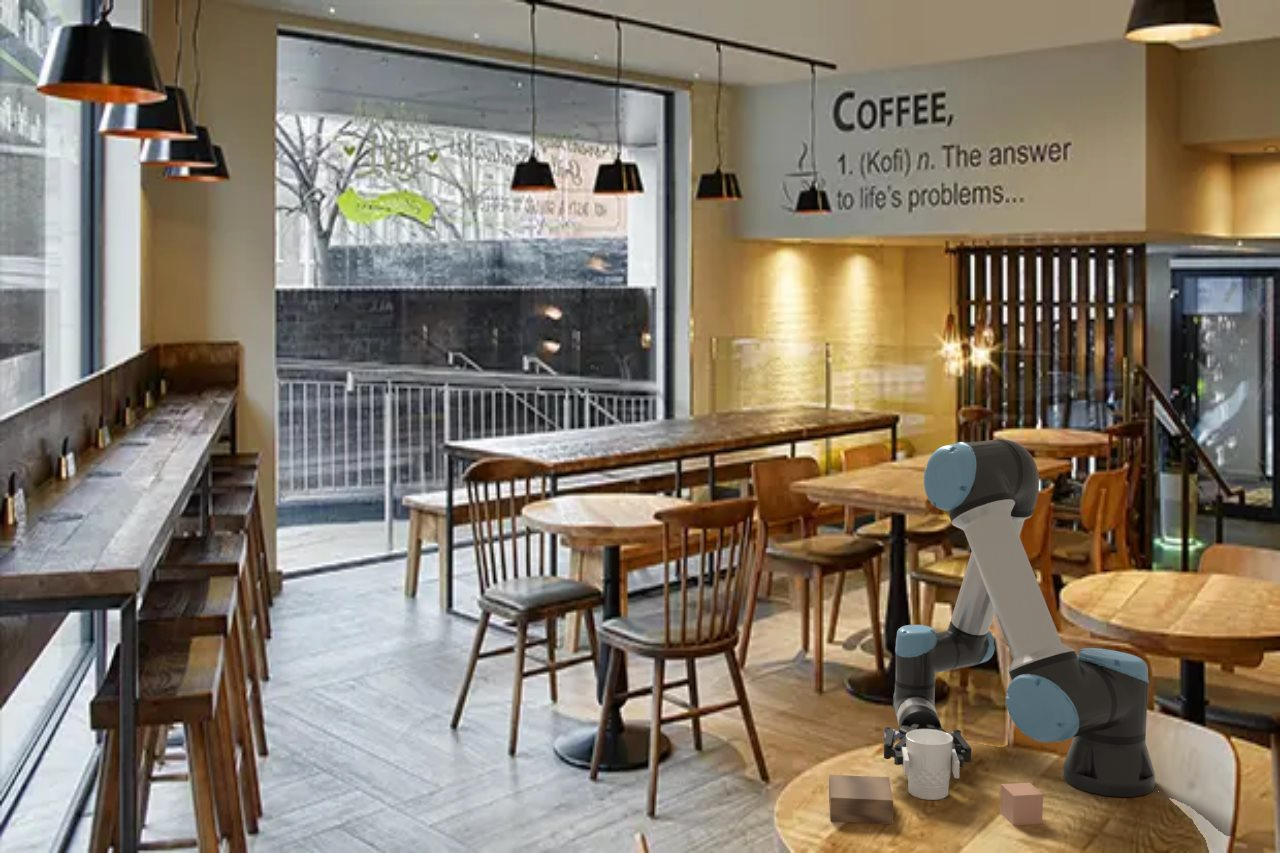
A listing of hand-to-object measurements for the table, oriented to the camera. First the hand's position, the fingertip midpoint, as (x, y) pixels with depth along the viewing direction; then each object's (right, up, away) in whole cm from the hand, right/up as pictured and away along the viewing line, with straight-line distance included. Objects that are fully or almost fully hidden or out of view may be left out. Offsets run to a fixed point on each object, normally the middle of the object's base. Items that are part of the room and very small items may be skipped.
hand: (931, 769), depth 214 cm
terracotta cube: (+13, -7, -5) cm, 16 cm away
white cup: (+1, -6, +5) cm, 8 cm away
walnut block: (-12, -6, -2) cm, 14 cm away
